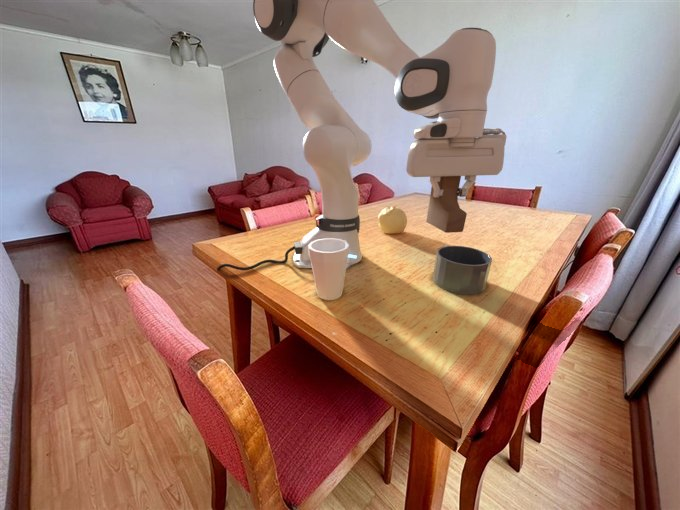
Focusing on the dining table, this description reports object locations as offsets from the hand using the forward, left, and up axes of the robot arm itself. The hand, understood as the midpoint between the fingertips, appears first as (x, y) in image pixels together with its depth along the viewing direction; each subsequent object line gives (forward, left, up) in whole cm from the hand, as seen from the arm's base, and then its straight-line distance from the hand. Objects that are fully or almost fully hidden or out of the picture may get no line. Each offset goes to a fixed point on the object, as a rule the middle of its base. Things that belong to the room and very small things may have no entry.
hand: (449, 196), depth 59 cm
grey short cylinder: (+7, +4, -23) cm, 25 cm away
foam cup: (-28, 0, -24) cm, 36 cm away
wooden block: (0, 0, -7) cm, 7 cm away
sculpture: (+1, +46, -24) cm, 52 cm away
